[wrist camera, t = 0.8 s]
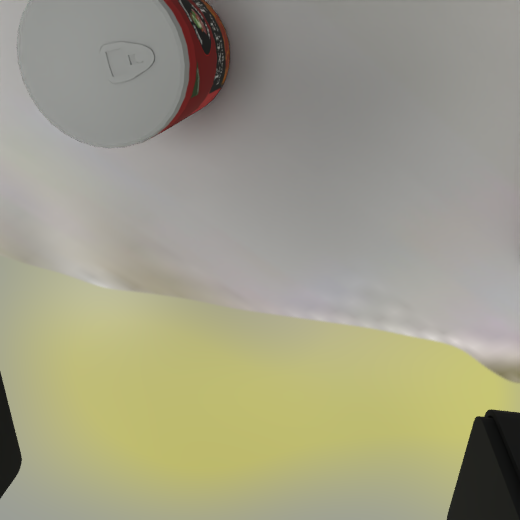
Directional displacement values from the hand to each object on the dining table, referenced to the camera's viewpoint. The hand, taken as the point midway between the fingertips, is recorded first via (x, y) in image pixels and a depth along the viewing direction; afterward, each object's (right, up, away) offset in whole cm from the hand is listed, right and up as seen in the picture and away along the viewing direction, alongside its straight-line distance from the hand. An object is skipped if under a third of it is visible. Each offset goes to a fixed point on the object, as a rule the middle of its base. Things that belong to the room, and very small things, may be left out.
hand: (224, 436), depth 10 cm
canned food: (-5, +17, +22) cm, 28 cm away
